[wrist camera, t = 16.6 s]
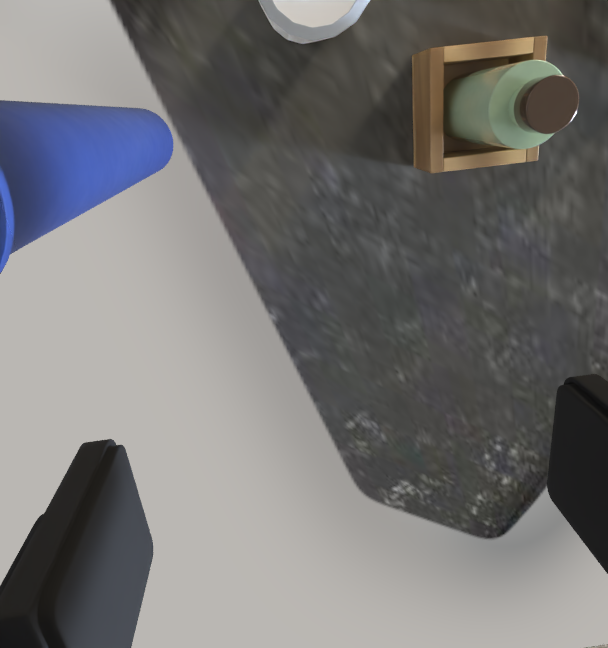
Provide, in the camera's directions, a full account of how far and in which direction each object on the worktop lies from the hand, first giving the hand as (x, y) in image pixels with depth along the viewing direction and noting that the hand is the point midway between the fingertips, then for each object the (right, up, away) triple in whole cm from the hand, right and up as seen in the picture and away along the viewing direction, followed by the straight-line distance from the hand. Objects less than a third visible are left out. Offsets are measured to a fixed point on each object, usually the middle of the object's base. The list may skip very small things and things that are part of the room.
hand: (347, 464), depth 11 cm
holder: (+11, +19, +26) cm, 34 cm away
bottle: (+11, +19, +26) cm, 33 cm away
